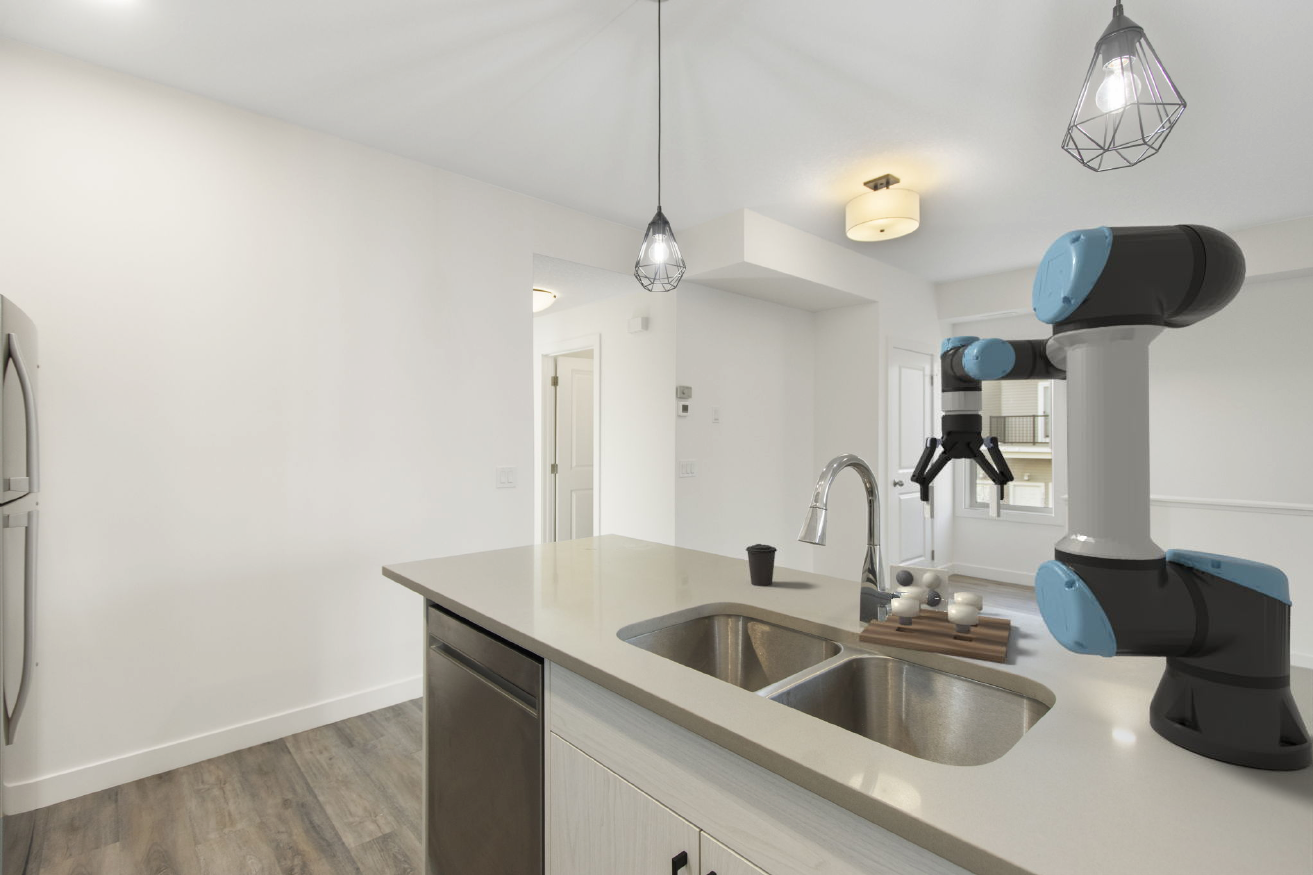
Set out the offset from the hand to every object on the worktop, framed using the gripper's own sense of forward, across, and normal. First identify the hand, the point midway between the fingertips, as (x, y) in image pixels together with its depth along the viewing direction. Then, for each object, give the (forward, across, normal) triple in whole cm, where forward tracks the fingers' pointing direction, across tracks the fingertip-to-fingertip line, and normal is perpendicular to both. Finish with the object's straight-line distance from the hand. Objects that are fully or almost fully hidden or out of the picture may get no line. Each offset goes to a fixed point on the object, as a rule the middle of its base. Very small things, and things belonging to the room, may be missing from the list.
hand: (962, 517), depth 130 cm
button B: (+19, +15, +9) cm, 26 cm away
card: (+22, +4, -12) cm, 25 cm away
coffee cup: (+22, +35, -35) cm, 54 cm away
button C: (+19, +2, +5) cm, 20 cm away
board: (+21, +8, +7) cm, 24 cm away
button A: (+19, +7, +14) cm, 25 cm away
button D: (+19, +10, 0) cm, 22 cm away
